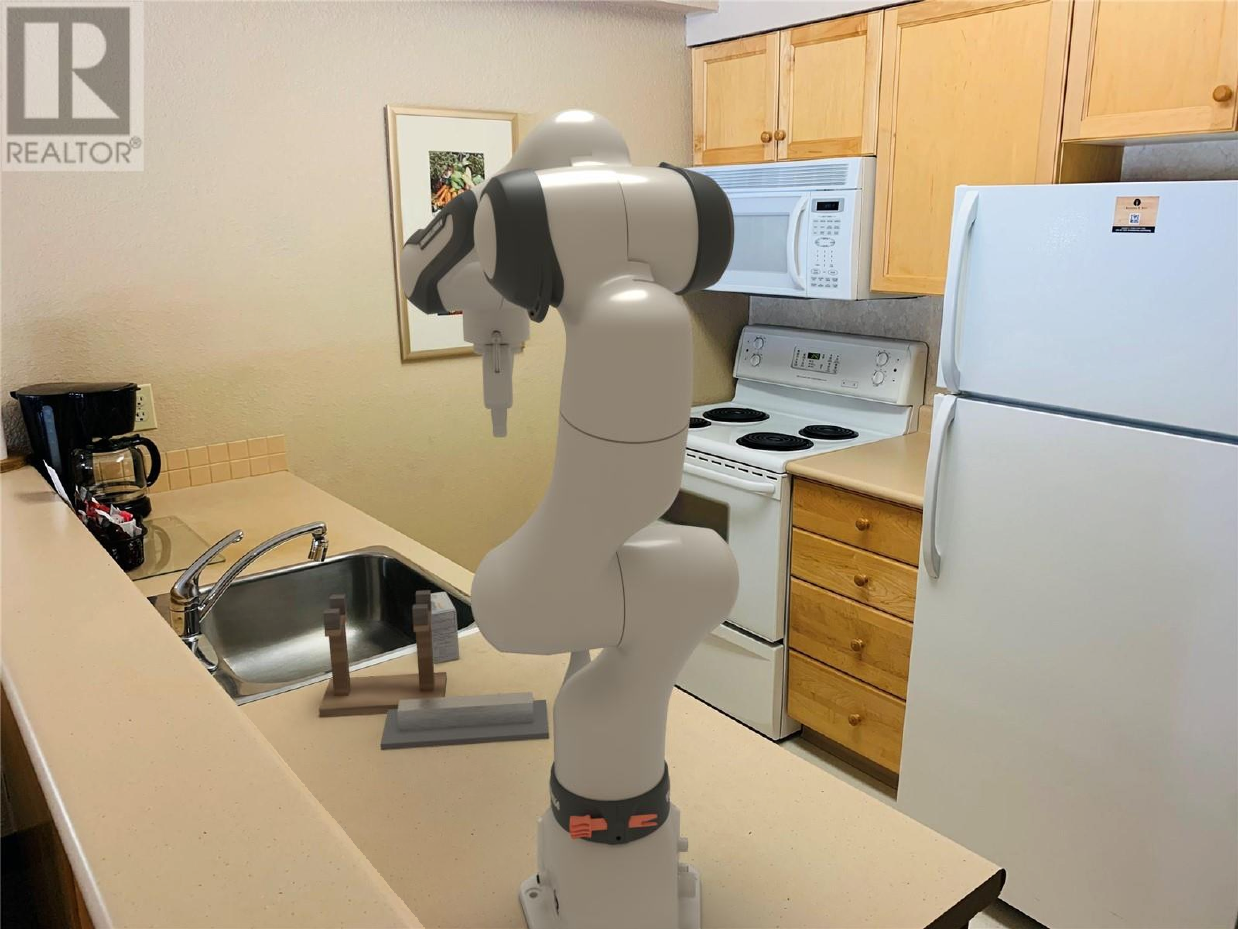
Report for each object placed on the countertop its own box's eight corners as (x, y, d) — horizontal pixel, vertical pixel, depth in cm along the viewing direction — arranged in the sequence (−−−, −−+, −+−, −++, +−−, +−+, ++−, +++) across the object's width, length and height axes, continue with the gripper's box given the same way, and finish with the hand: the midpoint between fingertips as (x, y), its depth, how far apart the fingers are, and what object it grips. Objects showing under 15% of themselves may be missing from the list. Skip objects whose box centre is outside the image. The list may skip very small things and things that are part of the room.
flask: (599, 718, 133) (599, 652, 130) (549, 712, 134) (548, 647, 131) (611, 693, 139) (610, 630, 137) (563, 688, 141) (562, 625, 138)
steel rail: (533, 722, 130) (533, 702, 129) (398, 731, 128) (397, 711, 127) (532, 711, 133) (532, 691, 132) (401, 719, 131) (399, 700, 130)
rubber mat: (549, 738, 128) (548, 732, 127) (380, 749, 125) (380, 744, 125) (546, 704, 136) (546, 699, 136) (388, 714, 134) (388, 709, 134)
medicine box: (460, 660, 150) (457, 608, 148) (431, 665, 148) (428, 613, 146) (449, 639, 157) (446, 590, 155) (422, 644, 155) (419, 594, 153)
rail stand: (443, 709, 135) (437, 611, 131) (319, 717, 133) (309, 617, 129) (446, 679, 144) (441, 586, 140) (330, 686, 142) (322, 592, 138)
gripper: (521, 337, 118) (524, 445, 122) (519, 318, 138) (522, 412, 141) (469, 338, 117) (474, 447, 121) (474, 318, 137) (478, 413, 140)
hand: (500, 428), depth 131 cm, fingers open, 8 cm apart
